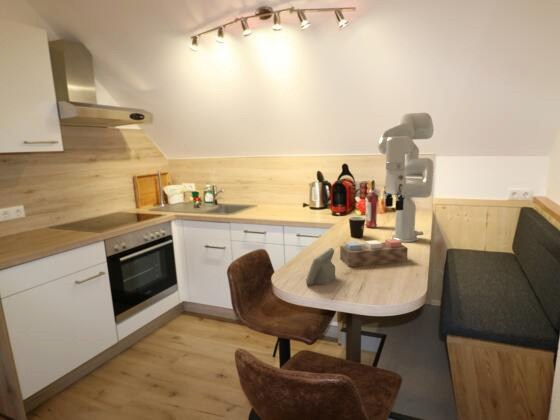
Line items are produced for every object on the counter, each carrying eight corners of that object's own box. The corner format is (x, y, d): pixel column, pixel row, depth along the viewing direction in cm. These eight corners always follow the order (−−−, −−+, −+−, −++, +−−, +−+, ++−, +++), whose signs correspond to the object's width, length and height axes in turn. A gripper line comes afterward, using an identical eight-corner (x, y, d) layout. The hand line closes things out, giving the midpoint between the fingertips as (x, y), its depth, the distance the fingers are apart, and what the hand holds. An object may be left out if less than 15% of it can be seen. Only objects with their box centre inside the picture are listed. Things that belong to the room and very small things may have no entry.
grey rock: (323, 271, 143) (323, 245, 141) (343, 276, 137) (343, 249, 135) (298, 283, 131) (298, 255, 129) (319, 289, 125) (319, 260, 123)
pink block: (395, 247, 158) (395, 238, 157) (401, 250, 153) (401, 241, 153) (384, 248, 157) (385, 239, 157) (390, 251, 152) (390, 242, 152)
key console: (395, 254, 161) (396, 241, 160) (407, 261, 152) (407, 247, 151) (340, 259, 157) (340, 245, 156) (348, 266, 147) (348, 252, 146)
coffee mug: (355, 239, 189) (355, 220, 187) (345, 236, 196) (345, 218, 194) (372, 236, 194) (373, 218, 192) (362, 233, 201) (362, 215, 200)
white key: (376, 249, 157) (376, 240, 156) (381, 252, 152) (381, 243, 151) (365, 250, 156) (365, 241, 155) (370, 253, 151) (370, 244, 150)
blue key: (356, 250, 155) (356, 241, 154) (361, 254, 150) (361, 244, 149) (345, 251, 154) (345, 242, 154) (349, 255, 149) (349, 245, 149)
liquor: (362, 226, 218) (363, 180, 213) (374, 225, 219) (375, 179, 214) (368, 229, 211) (368, 181, 206) (379, 228, 212) (380, 180, 207)
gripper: (414, 168, 141) (413, 211, 144) (393, 165, 158) (392, 204, 161) (397, 168, 140) (395, 212, 143) (377, 166, 157) (376, 205, 160)
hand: (393, 208), depth 152 cm, fingers open, 8 cm apart
